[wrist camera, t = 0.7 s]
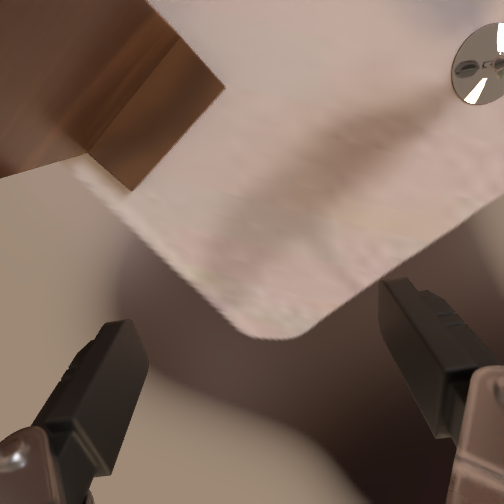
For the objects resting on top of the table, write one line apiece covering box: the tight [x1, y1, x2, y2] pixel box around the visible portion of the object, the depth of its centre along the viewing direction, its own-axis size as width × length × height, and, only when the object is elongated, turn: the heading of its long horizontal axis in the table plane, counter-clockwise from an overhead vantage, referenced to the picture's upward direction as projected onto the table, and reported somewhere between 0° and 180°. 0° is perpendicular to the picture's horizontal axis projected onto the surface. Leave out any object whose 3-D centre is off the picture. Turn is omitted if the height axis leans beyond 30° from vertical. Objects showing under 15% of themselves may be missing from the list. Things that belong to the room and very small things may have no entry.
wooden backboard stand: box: [0, 0, 226, 191], centre depth 21 cm, size 19×15×24 cm
